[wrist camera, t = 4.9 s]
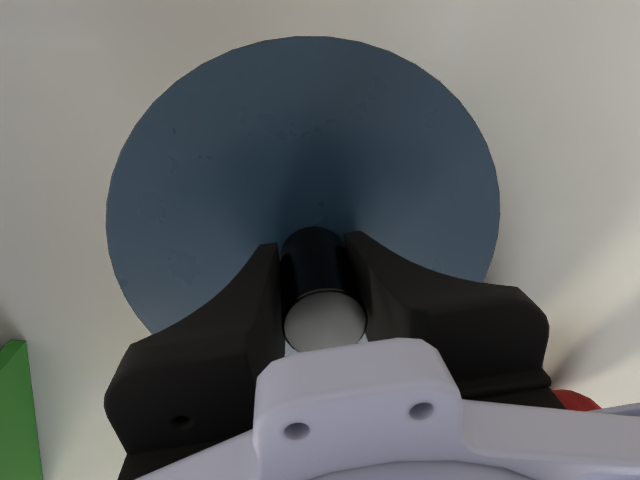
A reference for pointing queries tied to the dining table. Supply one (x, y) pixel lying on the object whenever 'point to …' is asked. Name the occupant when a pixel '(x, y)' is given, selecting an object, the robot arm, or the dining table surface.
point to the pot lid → (298, 183)
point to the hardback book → (17, 416)
